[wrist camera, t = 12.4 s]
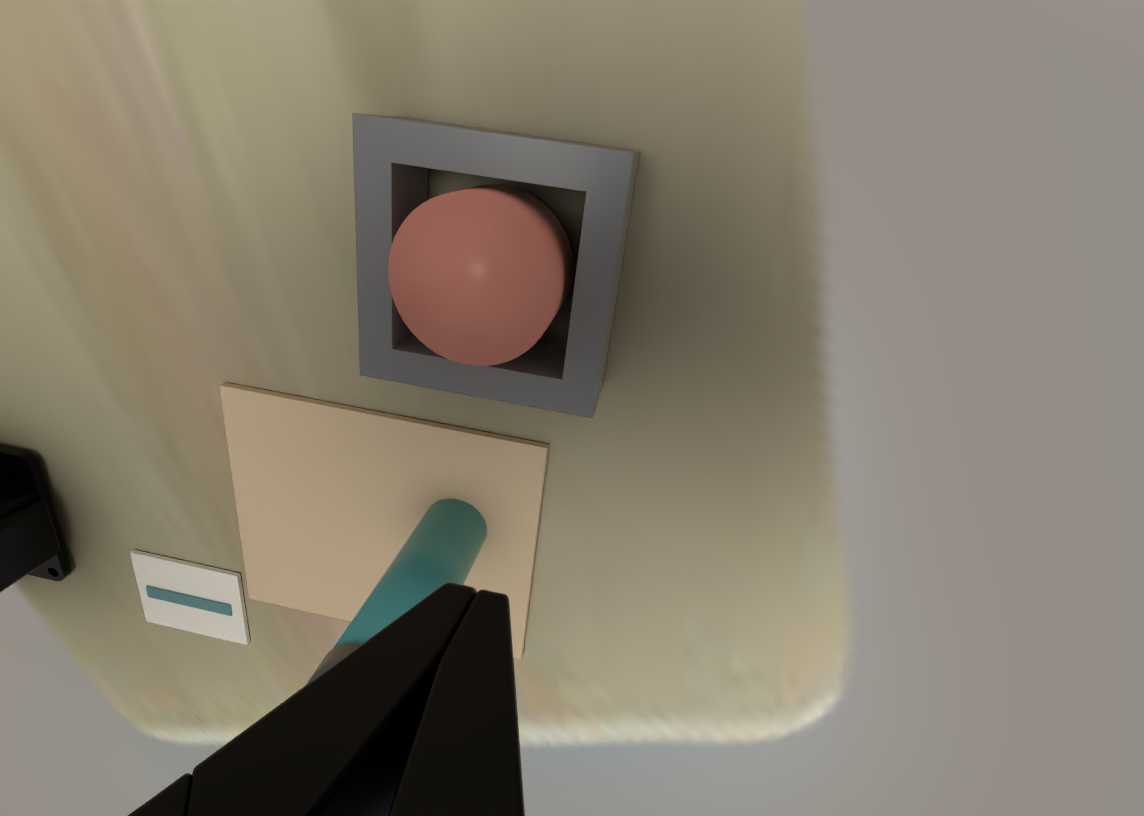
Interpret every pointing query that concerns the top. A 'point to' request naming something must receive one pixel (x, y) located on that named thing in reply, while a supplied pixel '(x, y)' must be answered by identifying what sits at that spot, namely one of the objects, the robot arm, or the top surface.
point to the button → (480, 273)
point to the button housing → (410, 147)
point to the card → (191, 596)
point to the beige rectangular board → (370, 499)
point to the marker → (417, 571)
